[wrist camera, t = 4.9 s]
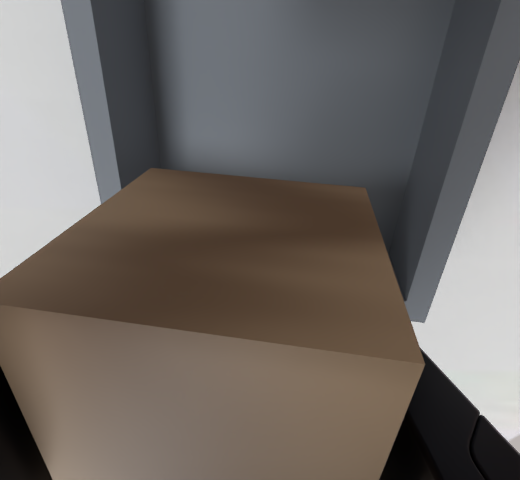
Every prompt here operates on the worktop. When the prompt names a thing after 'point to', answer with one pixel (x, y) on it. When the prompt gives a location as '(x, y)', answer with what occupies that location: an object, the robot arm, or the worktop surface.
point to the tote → (305, 102)
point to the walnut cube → (212, 335)
